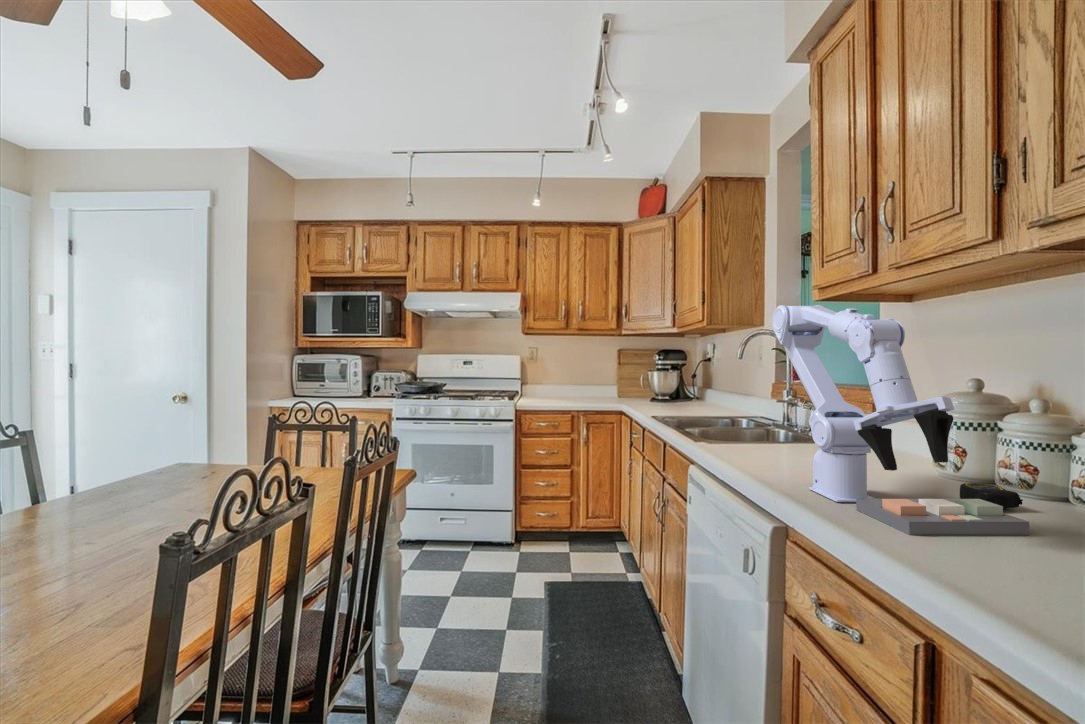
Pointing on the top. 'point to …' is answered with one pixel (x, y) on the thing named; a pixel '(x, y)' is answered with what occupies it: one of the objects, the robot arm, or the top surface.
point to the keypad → (944, 521)
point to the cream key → (942, 507)
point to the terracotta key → (904, 507)
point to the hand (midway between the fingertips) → (915, 466)
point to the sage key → (980, 507)
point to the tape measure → (990, 494)
